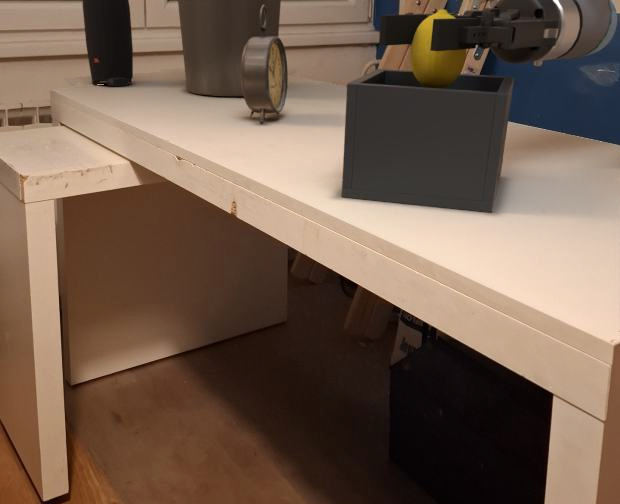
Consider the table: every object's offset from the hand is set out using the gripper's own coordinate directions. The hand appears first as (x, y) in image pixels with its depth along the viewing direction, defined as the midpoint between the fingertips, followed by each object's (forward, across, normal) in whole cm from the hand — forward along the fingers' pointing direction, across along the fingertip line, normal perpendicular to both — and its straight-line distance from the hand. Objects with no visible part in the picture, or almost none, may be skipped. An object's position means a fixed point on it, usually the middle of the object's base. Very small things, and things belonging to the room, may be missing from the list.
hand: (408, 32), depth 71 cm
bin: (-5, 0, -16) cm, 16 cm away
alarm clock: (-20, +42, -16) cm, 49 cm away
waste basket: (-36, +69, -16) cm, 79 cm away
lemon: (-5, 0, -6) cm, 8 cm away
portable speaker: (-23, +89, -16) cm, 93 cm away
